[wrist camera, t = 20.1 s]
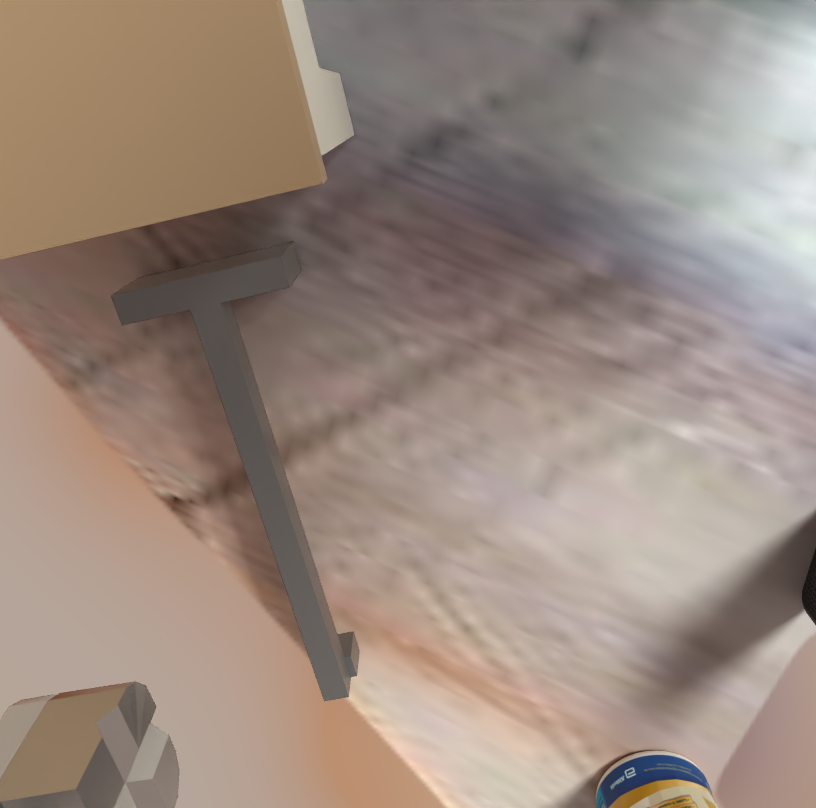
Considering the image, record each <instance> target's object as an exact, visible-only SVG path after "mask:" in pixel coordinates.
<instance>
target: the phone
mask: <svg viewBox="0 0 816 808" xmlns="http://www.w3.org/2000/svg"><path fill="white" fill-rule="evenodd" d="M802 601H803V606H804V609H805V611H806V613H807V614H808V615H809V617H810V618H811V619H812V621H813V622H814V623H815V625H816V549H815V552H814V555H813V559H812V562H811V565H810V568H809V571H808V574H807V577H806V580H805V584H804V587H803V591H802Z"/></svg>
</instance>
